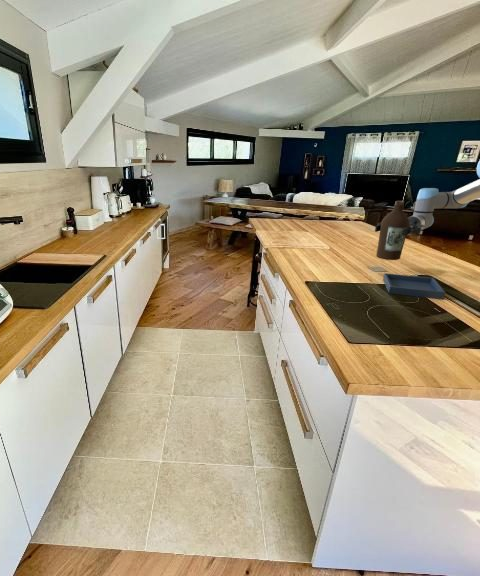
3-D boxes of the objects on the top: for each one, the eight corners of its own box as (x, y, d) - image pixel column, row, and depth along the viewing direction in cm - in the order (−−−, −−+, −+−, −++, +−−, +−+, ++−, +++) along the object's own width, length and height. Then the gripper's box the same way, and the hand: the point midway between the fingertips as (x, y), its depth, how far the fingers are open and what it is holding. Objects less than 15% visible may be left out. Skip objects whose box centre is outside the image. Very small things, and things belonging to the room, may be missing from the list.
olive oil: (371, 253, 149) (382, 199, 140) (396, 254, 147) (408, 199, 138) (378, 260, 140) (390, 202, 130) (405, 261, 137) (419, 202, 128)
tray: (431, 284, 129) (433, 277, 128) (443, 299, 115) (445, 292, 114) (383, 279, 136) (384, 273, 135) (388, 293, 122) (390, 286, 121)
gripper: (438, 236, 140) (417, 243, 129) (384, 228, 158) (361, 234, 146) (443, 219, 138) (421, 225, 126) (387, 213, 155) (364, 218, 144)
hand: (389, 230), depth 136 cm, fingers closed on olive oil, 11 cm apart
